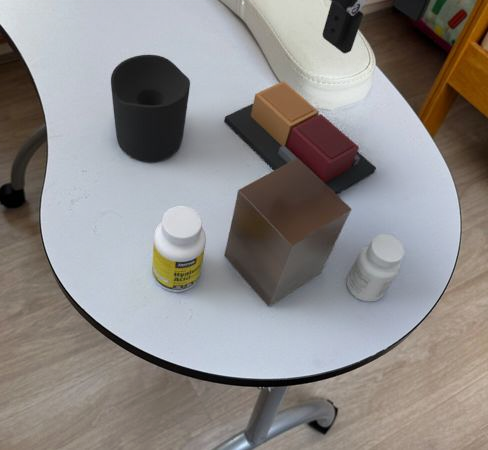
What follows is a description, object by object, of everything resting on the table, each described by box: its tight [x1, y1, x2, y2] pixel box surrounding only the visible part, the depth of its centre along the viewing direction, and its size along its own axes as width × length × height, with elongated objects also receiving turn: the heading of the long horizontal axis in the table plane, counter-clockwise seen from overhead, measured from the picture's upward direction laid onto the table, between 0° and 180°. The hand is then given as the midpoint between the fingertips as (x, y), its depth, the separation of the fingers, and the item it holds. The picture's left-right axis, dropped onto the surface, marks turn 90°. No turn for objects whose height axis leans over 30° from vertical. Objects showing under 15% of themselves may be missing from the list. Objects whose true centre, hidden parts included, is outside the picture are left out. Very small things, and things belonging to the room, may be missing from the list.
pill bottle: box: [346, 234, 405, 302], centre depth 63 cm, size 4×4×8 cm
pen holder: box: [110, 54, 191, 163], centre depth 74 cm, size 9×9×10 cm
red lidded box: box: [287, 113, 360, 183], centre depth 74 cm, size 7×5×4 cm
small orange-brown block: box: [251, 80, 320, 147], centre depth 78 cm, size 7×5×4 cm
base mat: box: [224, 103, 377, 196], centre depth 78 cm, size 18×11×2 cm, turn 36°
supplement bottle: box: [151, 205, 207, 293], centre depth 62 cm, size 5×5×10 cm
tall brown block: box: [224, 158, 353, 308], centre depth 62 cm, size 8×8×12 cm
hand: (372, 28), depth 55 cm, fingers open, 9 cm apart
